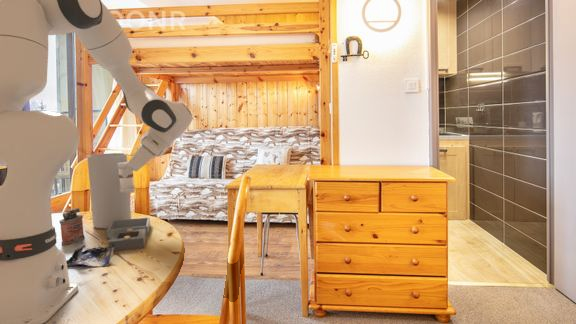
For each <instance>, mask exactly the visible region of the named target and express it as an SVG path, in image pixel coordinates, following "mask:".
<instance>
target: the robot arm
mask: <svg viewBox="0 0 576 324" xmlns="http://www.w3.org/2000/svg"><path fill="white" fill-rule="evenodd" d="M71 33H74V35H75V36H76V37H77V39H78V41H79V42H80V44H81V45H82V46H83V48H84V49H85V50H86V52H87V53H88V55H90V57H91V58H92V59H93V60H94V61H95V62H96V63H97V64H98V65H99V66H100V67H101V68H102V69H104V70H107V71H108V73H110V75H111V76H112V77H113V79H114V80H115V81H116V84H117V85H118V86H119V88H120V89H121V92H122V94H123V100H124V104H125V106H126V108H127V110H128V111H130V112H131V113H132V114H133V115H134V116H136V118H138V120H140V121H141V122H142V123H143V124H144V125H145V126H148V127H149V128H148V129H147V130H146V131H145V132H144V134H142V136H140V138H139V140H140V143H139V145H138V146H139V147H138V148H137V150H136V151H135V152H134V153H133V155H132V156H131V158H130V159H129V160H128V161H127V162H128V164H127V165H128V167H127V168H126V169H125V171H124V172H123V173H122V174H121V176H122V177H123V178H126V177H127V176H128V175H129V174H130V173H131V172H133V173H134V171H135V172H138V171H139V170H140V169H142V168H143V167H144V166H145V165H146V164H148V162H150V161H151V160H152V159H155V158H156V157H162V156H163V155H164V154H165V153H166V152H167V151H168V150H169V148H171V147H172V145H173V143H174V141H175V140H177V139H178V138H180V137H181V136H182V135H183V133H185V132H186V130H187V129H188V128H189V126H190V125H191V123H192V121H193V117H194V116H193V114H192V112H191V111H190V109H189V108H188V107H187V106H186V105H185V104H184V103H183V102H181V101H172V100H169V99H166V98H162V97H161V96H159V95H158V94H157V93H156V92H155V91H154V90H153V89H152V88H151V87H150V86H148V85H147V84H145V83H143V82H142V81H141V80H140V78H139V76H138V75H137V74H136V72H135V70H134V68H133V67H132V65H131V64H130V62H129V61H130V60H131V58H132V56H133V47H132V45H131V43H130V39H129V38H128V36H127V34H126V32H125V31H124V29H123V28H122V26H121V25H120V23H119V21H118V20H117V19H116V17H115V16H114V14H113V13H112V12H111V11H110V9H109V8H108V7H107V6H106V5H105V3H103V1H102V0H0V167H6V168H7V169H6V171H7V172H6V176H5V179H4V182H3V183H2V185H0V324H45V323H47V321H48V320H50V318H52V317H53V315H55V314H56V313H57V312H58V311H59V309H60V308H61V307H63V305H64V304H65V303H67V302H68V300H70V299H71V297H72V296H73V295H75V294H76V293H77V292H78V290H79V287H78V284H77V283H71V282H70V276H69V269H68V266H67V262H66V261H67V256H66V253H64V252H63V251H62V250H60V249H59V247H57V245H56V244H57V232H56V227H55V226H54V225H53V219H52V217H53V216H52V189H53V184H54V181H55V179H56V177H57V175H58V173H59V171H60V169H61V168H62V167H63V166H64V165H65V164H66V163H67V162H68V161H69V160H71V159H72V158H73V157H74V156H75V154H76V153H77V151H78V149H79V147H80V140H81V139H80V133H79V129H78V126H77V125H76V123H75V122H74V121H73V119H72V118H71V117H70V116H68V115H66V114H63V113H58V112H51V111H48V110H47V111H46V110H23V109H24V107H25V106H26V104H28V102H29V101H30V100H31V99H33V98H34V97H35V96H37V95H39V94H40V93H41V92H43V91H44V90H45V88H46V86H47V83H48V66H49V65H48V63H49V36H54V35H55V36H56V35H67V34H71Z"/></svg>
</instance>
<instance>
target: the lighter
mask: <svg viewBox="0 0 576 324" xmlns="http://www.w3.org/2000/svg"><path fill="white" fill-rule="evenodd" d="M80 212H81V211H80V208H79V207H77V208H73V209H66V211H65V212H62V217H63V219H60V220H59V225H60V234H61V246H64V247H65V246H70V245H73V244H75V243H78V242H80V241H83V240H84V239H85V234H84V233H85V232H84V223H83V217H84V216H83V214H77V213H80Z"/></svg>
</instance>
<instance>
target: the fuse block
mask: <svg viewBox="0 0 576 324" xmlns="http://www.w3.org/2000/svg"><path fill="white" fill-rule="evenodd" d="M146 240H147V235H146V229H139V230H132V229H127V231H119V232H114V233H113V235H112V237H111V239H109V246H110V245H111V244H114V245H115V246H114V250H113V253H114V252H120V251H121V252H122V251H130V250H131V251H132V250H138V249H140V250H141V249H145V246H146Z"/></svg>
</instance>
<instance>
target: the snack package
mask: <svg viewBox="0 0 576 324" xmlns="http://www.w3.org/2000/svg"><path fill="white" fill-rule="evenodd" d="M97 246H99V247H93V248H89V249H85V248H86V245H82V246H81V247H77V249H75V250H74V251H73V253H72V254H71V257H69V259H66V262H67V267H74V266H81V265H83V266H89V267H93V265H92V264H91V263H97V264H99V266H98V265H97V266H95V265H94V267H101V266H103V267H107V266H109V264H110V262H111V260H112V258H113V255H114V252H113V250H114V246H115V245H114V244H111V245H110V244H109V246H107V247H102V246H100V244H98V245H97Z"/></svg>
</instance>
